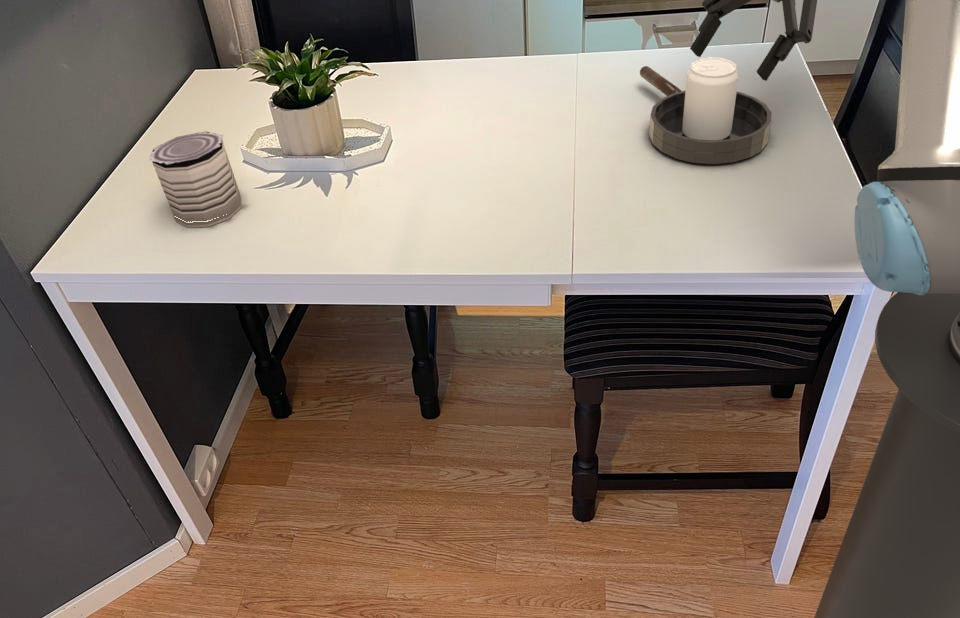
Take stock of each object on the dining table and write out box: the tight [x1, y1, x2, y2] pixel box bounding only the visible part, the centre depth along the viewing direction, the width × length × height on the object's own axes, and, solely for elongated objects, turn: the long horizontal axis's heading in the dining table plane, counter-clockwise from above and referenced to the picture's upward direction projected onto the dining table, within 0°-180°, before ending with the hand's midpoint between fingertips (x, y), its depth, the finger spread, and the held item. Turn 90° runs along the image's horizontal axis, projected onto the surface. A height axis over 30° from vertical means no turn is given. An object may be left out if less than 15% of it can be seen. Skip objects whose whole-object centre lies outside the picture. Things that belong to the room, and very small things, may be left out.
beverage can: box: [682, 56, 740, 140], centre depth 131 cm, size 8×8×12 cm
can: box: [148, 130, 243, 229], centre depth 127 cm, size 11×11×12 cm
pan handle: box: [639, 65, 682, 97], centre depth 144 cm, size 13×2×2 cm, turn 20°
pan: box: [648, 89, 772, 165], centre depth 133 cm, size 19×19×4 cm
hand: (726, 64), depth 128 cm, fingers open, 13 cm apart
